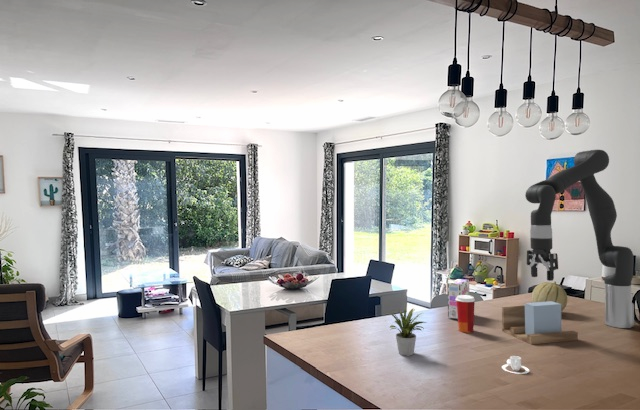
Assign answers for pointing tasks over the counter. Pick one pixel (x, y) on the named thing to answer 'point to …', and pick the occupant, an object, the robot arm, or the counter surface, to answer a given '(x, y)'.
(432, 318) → the counter surface
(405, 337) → the house plant
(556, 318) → the panel
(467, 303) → the paper cup
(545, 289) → the cantaloupe
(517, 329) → the track
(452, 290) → the candy box
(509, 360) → the teacup and saucer
